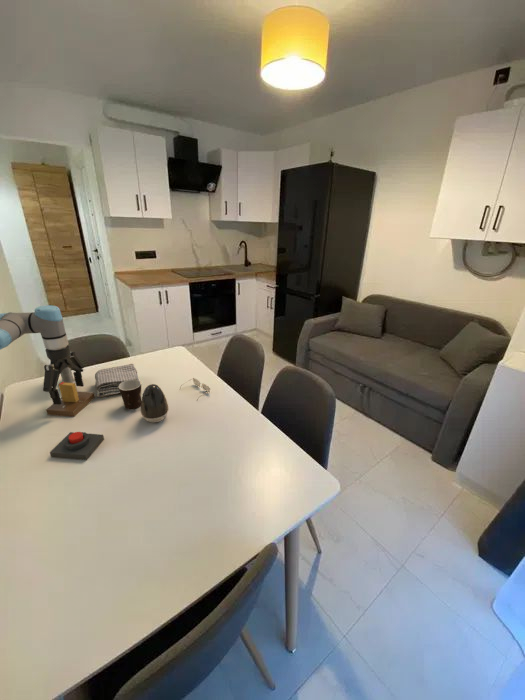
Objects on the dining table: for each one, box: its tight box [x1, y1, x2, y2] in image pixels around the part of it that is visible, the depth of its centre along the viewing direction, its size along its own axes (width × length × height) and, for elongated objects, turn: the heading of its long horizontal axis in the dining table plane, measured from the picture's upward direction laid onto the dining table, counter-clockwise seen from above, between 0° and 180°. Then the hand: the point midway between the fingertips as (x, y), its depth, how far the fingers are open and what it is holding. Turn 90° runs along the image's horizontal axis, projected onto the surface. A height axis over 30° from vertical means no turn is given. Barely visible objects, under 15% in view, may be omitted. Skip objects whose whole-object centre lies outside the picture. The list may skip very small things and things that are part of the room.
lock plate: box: [45, 391, 96, 418], centre depth 120 cm, size 14×11×3 cm
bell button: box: [69, 431, 84, 444], centre depth 97 cm, size 4×4×2 cm
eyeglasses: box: [179, 377, 211, 401], centre depth 134 cm, size 14×8×4 cm, turn 49°
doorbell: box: [49, 431, 105, 461], centre depth 98 cm, size 12×10×4 cm
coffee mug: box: [118, 379, 142, 411], centre depth 119 cm, size 12×9×10 cm
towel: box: [94, 363, 143, 398], centre depth 134 cm, size 15×18×8 cm
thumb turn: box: [58, 381, 79, 402], centre depth 118 cm, size 6×2×8 cm, turn 86°
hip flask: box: [60, 367, 74, 383], centre depth 131 cm, size 16×4×20 cm, turn 33°
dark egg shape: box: [140, 383, 170, 423], centre depth 112 cm, size 10×10×15 cm
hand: (69, 394), depth 118 cm, fingers open, 13 cm apart
